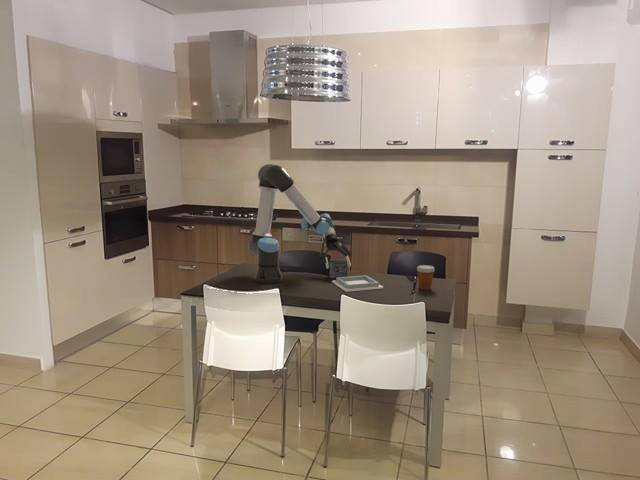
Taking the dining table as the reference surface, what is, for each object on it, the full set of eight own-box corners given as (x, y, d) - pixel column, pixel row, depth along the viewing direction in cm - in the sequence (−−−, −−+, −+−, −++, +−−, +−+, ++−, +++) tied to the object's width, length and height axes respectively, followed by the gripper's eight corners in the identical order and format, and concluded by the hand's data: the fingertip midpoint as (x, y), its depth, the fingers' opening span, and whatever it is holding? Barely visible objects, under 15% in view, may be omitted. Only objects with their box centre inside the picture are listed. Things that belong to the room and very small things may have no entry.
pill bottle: (423, 291, 271) (424, 269, 268) (412, 287, 279) (413, 265, 277) (437, 289, 275) (438, 267, 273) (425, 285, 283) (427, 264, 281)
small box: (347, 276, 300) (347, 259, 298) (347, 279, 293) (347, 261, 291) (329, 276, 300) (329, 258, 298) (328, 278, 293) (329, 261, 292)
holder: (345, 291, 268) (345, 286, 267) (331, 282, 286) (332, 277, 285) (383, 288, 275) (383, 283, 274) (367, 279, 293) (367, 274, 293)
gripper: (347, 239, 314) (356, 268, 303) (308, 241, 306) (317, 271, 295) (350, 232, 309) (360, 261, 298) (312, 234, 300) (320, 264, 289)
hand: (339, 266), depth 296 cm, fingers open, 13 cm apart
